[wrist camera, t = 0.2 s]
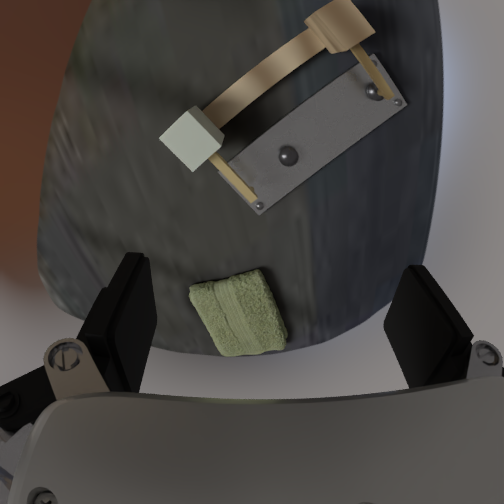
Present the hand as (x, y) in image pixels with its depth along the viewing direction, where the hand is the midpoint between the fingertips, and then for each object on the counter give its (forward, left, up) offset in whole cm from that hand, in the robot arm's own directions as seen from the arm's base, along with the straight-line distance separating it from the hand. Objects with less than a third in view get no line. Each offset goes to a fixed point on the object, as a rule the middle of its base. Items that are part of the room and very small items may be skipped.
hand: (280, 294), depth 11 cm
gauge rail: (-6, -1, -31) cm, 31 cm away
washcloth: (+21, +21, -31) cm, 43 cm away
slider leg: (+5, -1, -29) cm, 29 cm away
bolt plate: (-6, +5, -31) cm, 32 cm away
